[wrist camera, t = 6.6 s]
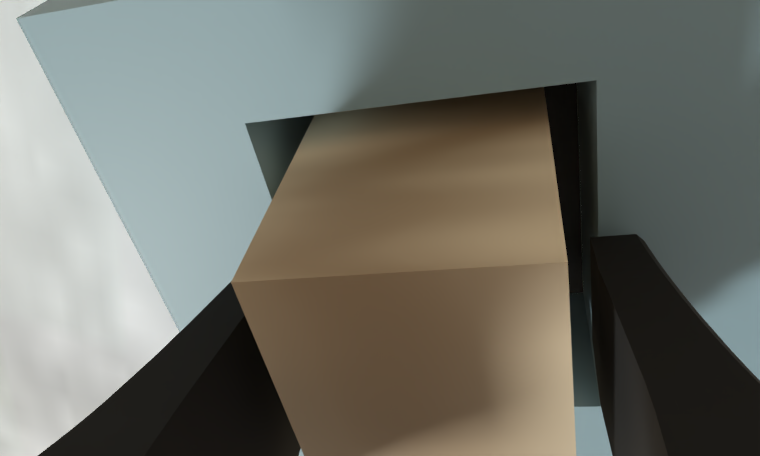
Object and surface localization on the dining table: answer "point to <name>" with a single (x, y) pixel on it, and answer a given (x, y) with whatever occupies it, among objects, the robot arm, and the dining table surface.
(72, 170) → the dining table surface
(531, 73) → the socket plate
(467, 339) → the key block
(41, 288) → the dining table surface
